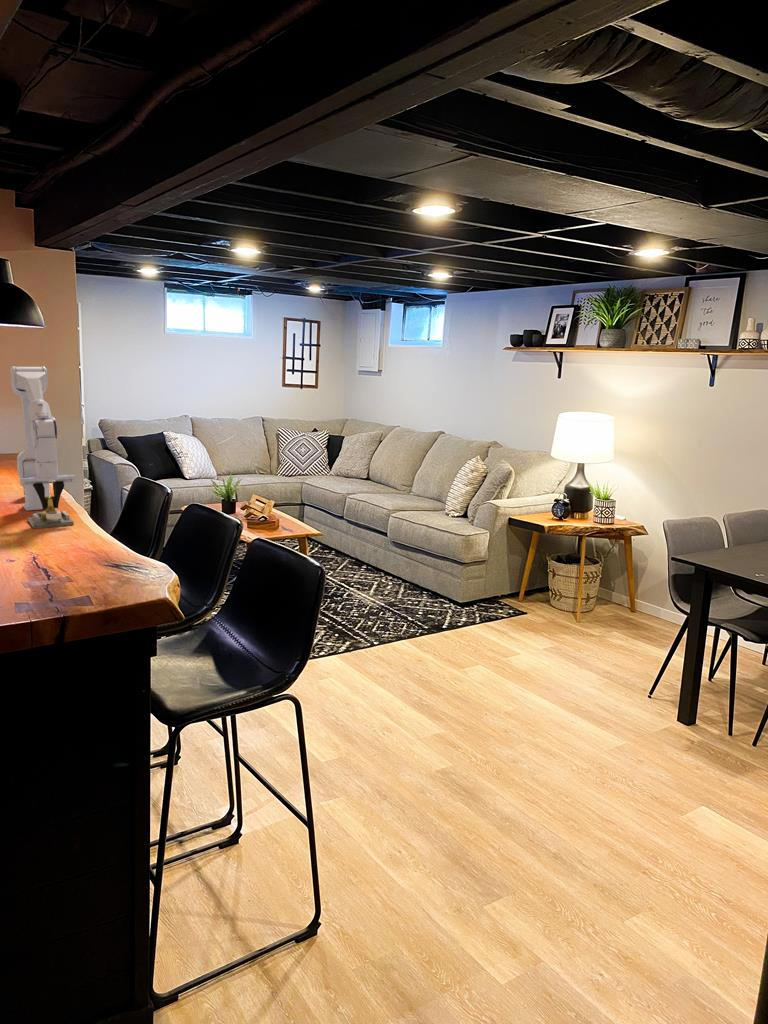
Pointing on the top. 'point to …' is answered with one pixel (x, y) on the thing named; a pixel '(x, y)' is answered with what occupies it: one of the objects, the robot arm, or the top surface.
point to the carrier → (50, 520)
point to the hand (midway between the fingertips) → (50, 508)
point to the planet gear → (49, 506)
